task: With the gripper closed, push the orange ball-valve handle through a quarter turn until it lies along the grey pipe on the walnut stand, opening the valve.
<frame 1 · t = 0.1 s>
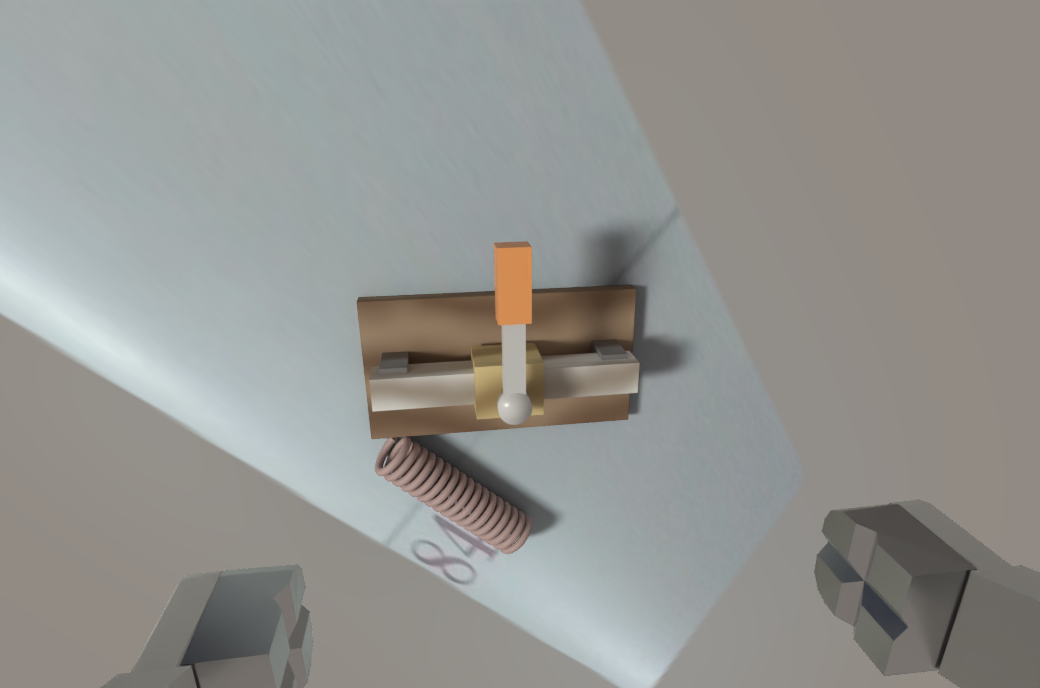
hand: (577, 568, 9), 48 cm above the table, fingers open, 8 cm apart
valve lever: (513, 337, 48), point 10 cm above the table, hinge at 0.0°
valve stand: (500, 359, 60), on the table
coil: (455, 482, 65), on the table
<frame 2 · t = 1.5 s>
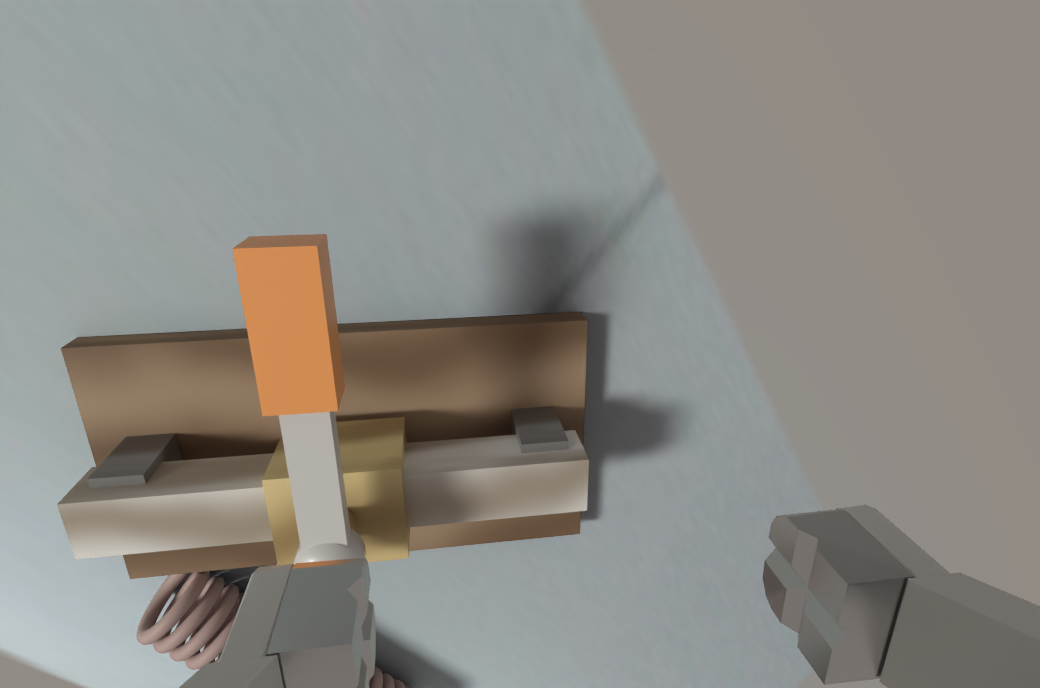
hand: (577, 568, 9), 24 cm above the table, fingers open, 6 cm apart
valve lever: (310, 435, 23), point 10 cm above the table, hinge at 0.0°
valve stand: (356, 439, 35), on the table
coil: (296, 633, 40), on the table
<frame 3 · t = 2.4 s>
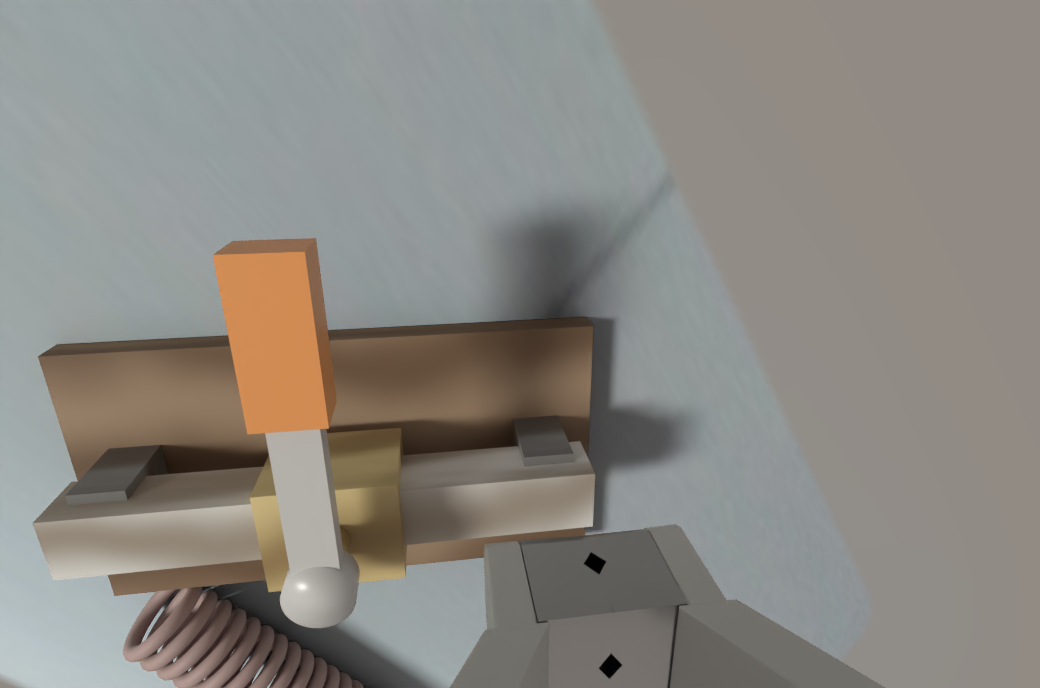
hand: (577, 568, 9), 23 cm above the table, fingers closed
valve lever: (300, 453, 22), point 10 cm above the table, hinge at 0.0°
valve stand: (350, 449, 33), on the table
coil: (288, 650, 38), on the table
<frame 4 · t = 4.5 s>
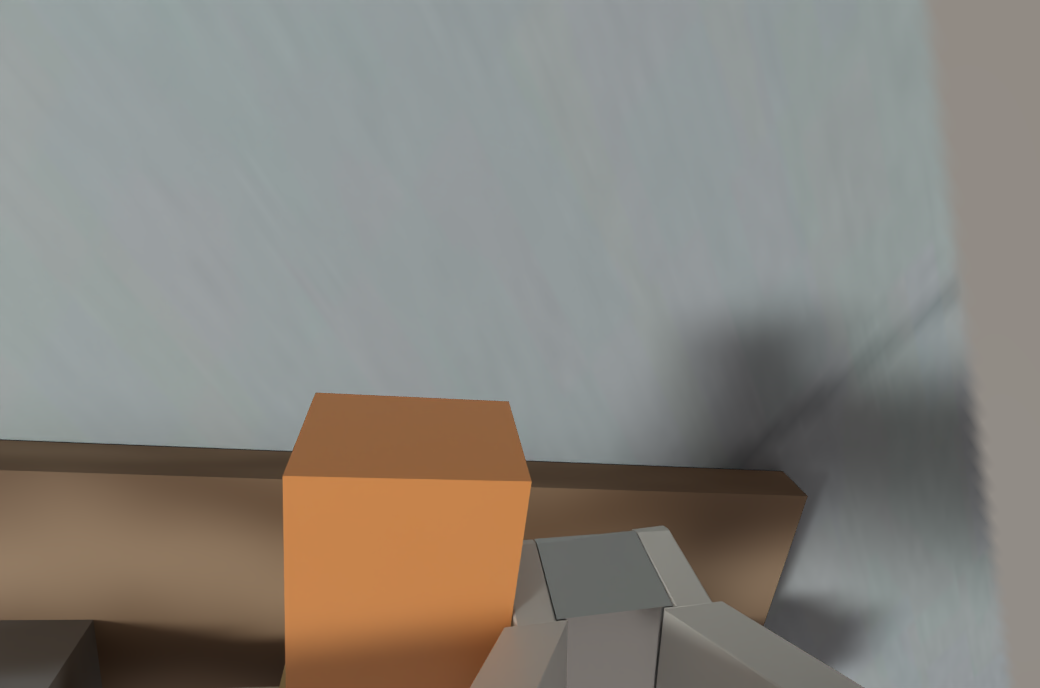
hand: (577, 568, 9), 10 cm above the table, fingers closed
valve stand: (396, 629, 21), on the table
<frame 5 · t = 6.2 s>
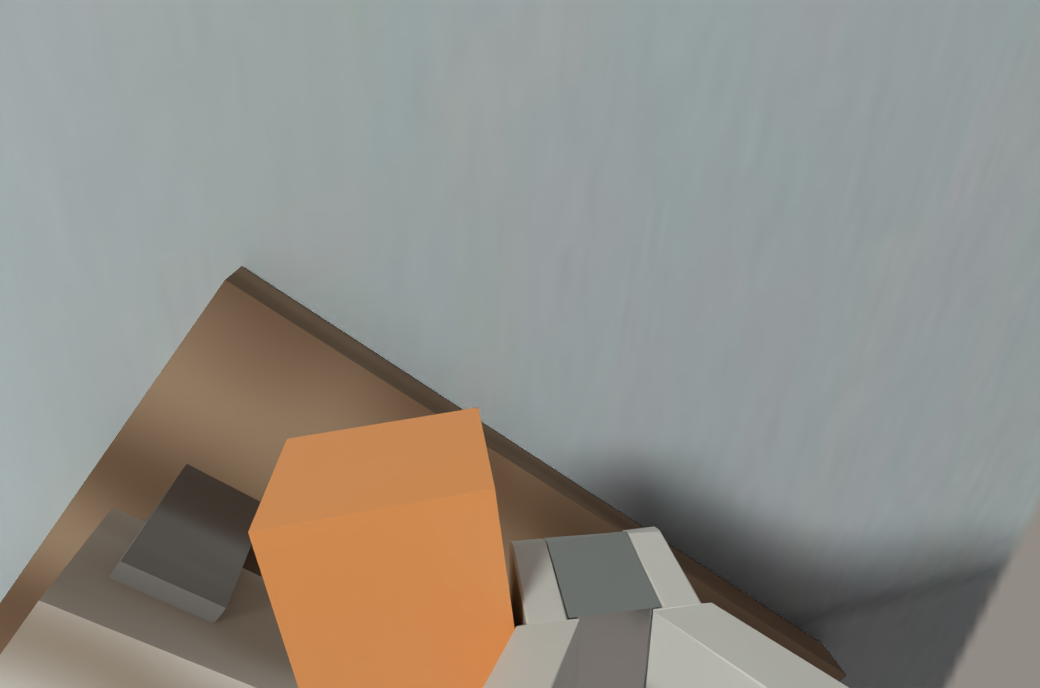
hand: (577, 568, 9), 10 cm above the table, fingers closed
valve stand: (466, 634, 22), on the table
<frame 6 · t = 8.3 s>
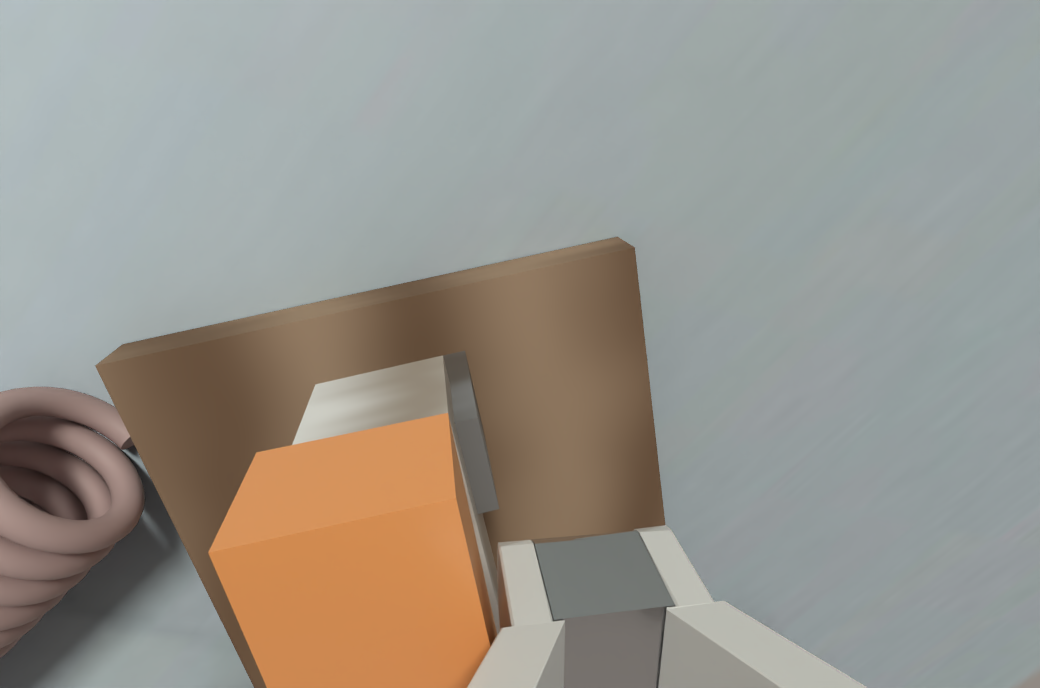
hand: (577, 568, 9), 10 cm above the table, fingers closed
valve stand: (473, 628, 22), on the table
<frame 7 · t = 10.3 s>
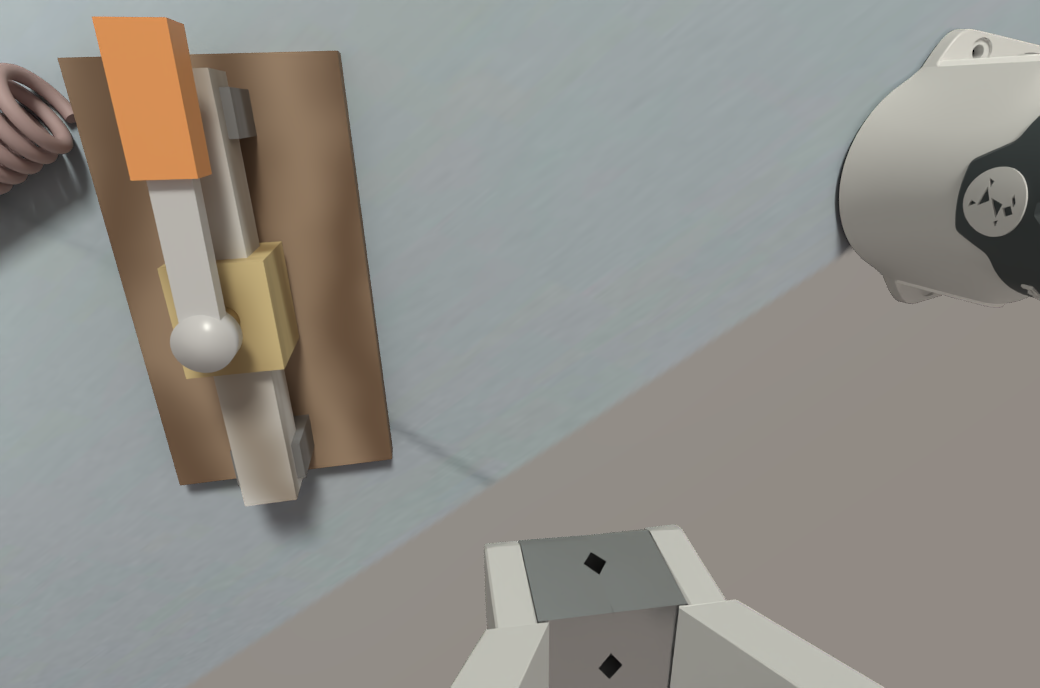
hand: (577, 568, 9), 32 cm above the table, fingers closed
valve lever: (180, 211, 27), point 10 cm above the table, hinge at 88.5°
valve stand: (256, 283, 38), on the table
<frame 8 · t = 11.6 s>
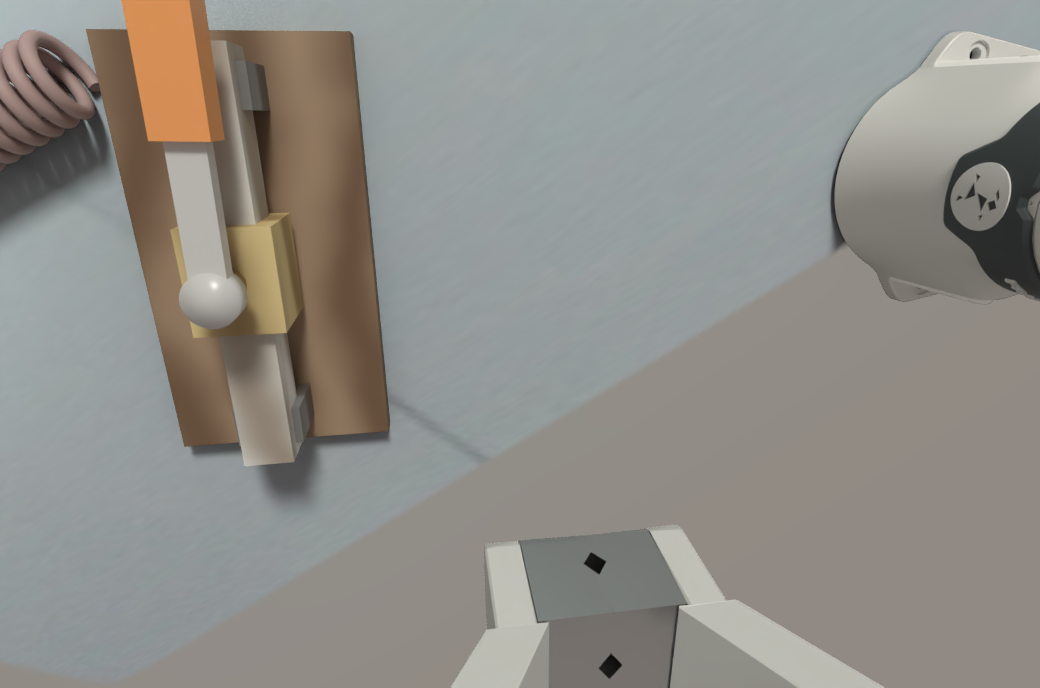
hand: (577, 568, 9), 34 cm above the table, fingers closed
valve lever: (193, 173, 28), point 10 cm above the table, hinge at 88.5°
valve stand: (265, 254, 40), on the table
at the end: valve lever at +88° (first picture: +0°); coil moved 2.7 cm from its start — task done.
